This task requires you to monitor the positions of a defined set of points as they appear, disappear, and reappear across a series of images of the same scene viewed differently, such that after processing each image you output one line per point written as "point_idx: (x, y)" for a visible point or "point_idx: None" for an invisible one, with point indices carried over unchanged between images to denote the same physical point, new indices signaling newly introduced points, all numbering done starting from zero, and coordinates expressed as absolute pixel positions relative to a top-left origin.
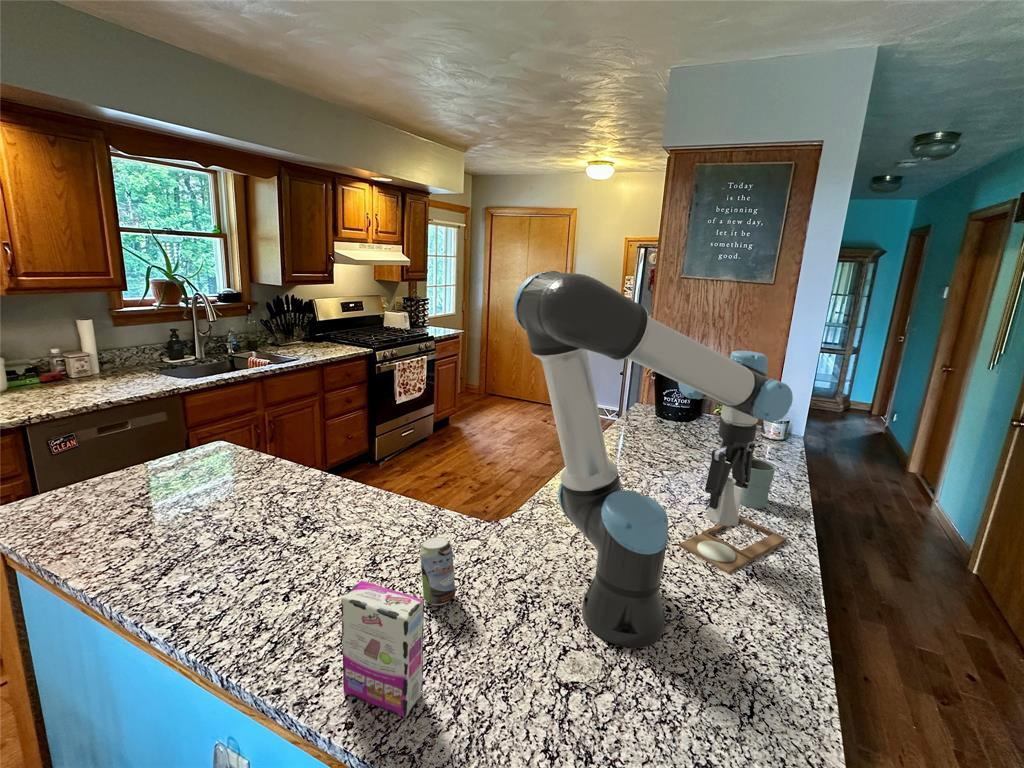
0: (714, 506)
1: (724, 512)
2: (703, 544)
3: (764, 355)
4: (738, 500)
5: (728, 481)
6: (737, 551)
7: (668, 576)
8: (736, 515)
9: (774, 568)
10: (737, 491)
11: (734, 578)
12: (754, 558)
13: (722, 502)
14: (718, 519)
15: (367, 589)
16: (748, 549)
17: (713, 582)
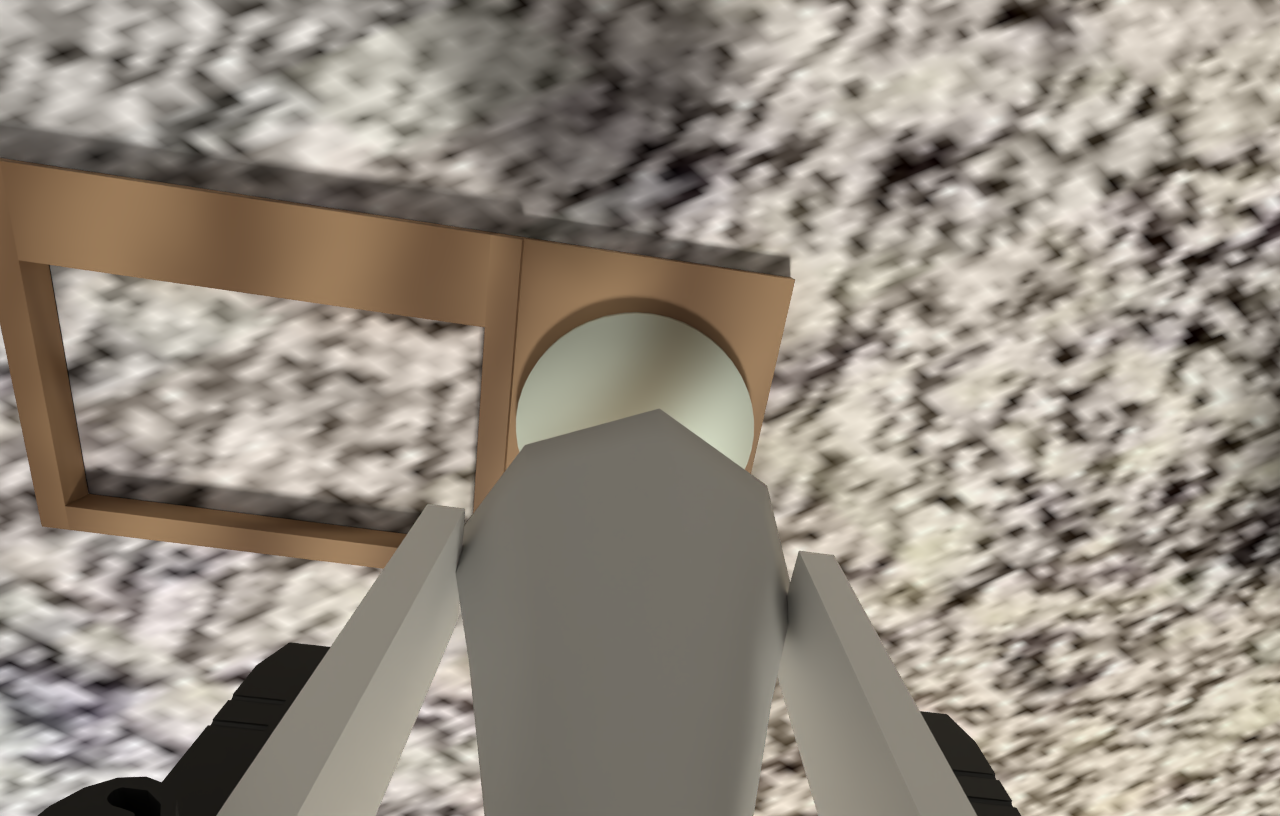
0: (984, 758)
1: (760, 606)
2: None
3: None
4: (397, 635)
5: None
6: (515, 338)
7: (1070, 491)
8: (613, 491)
9: (458, 78)
10: (331, 793)
11: (811, 227)
12: (469, 230)
13: (904, 760)
14: (840, 579)
15: None
16: (423, 297)
17: (953, 299)
